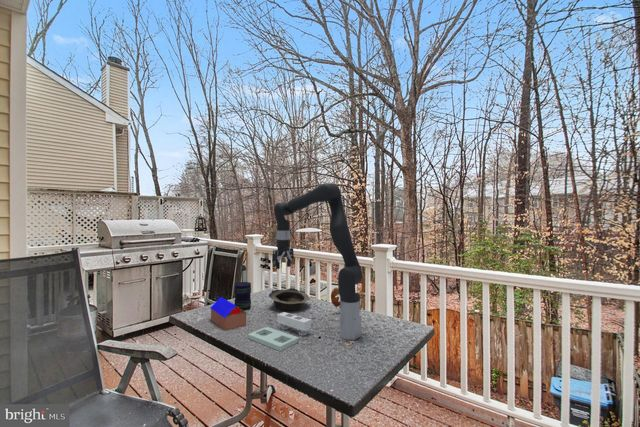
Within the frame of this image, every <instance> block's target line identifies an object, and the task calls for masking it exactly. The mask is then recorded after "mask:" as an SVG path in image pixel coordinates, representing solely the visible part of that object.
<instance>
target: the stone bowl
mask: <svg viewBox="0 0 640 427" xmlns="http://www.w3.org/2000/svg"><path fill="white" fill-rule="evenodd" d="M268 297H269V298H270V299H271V300H272V301H273V304H274V305H275V308H276V309H277V310H280V311H296V310H299V309H300V308H301V307H302V306H303V305H304V303H306V302H308V301H309V300H310V297H309V294H307V293H304V292H301V291H300V290H298V289H295V288H287V289H275V290H274V289H273V290H271V292H270V293H269V294H268Z"/></svg>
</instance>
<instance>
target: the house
mask: <svg viewBox="0 0 640 427" xmlns="http://www.w3.org/2000/svg"><path fill="white" fill-rule="evenodd" d="M210 320H211V322H213V323H214V324H215V325H217V326H218V327H220V328H221V329H222V330H224V331H230V330H233V329H237V328H241V327H245V326H247V312H246V311H243V310H242V309H240V308H239V307H238V306H236V305H234V302H233V303H232V302H231V301H229V300H227V299H225V298H224V297H223V296H220V297H219V298H218V299H217V300H216V301H215V302H214V303H213V304H212V305H211V306H210Z"/></svg>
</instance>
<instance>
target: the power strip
mask: <svg viewBox="0 0 640 427" xmlns="http://www.w3.org/2000/svg"><path fill="white" fill-rule="evenodd" d="M276 323H279V324H280V329H281V330H282V331H284V330H285V331H286V330H289V329H290V328H289V327H291V328H294V329H297V330H299V331H298V336H301V337H304V336H307V335H308V331H307V330H309V329H312V320H311V319H310V318H306V317H303V316H300V315H296V314H293V313H290V312H285V311H283V312H280V313H278V314H276Z"/></svg>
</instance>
